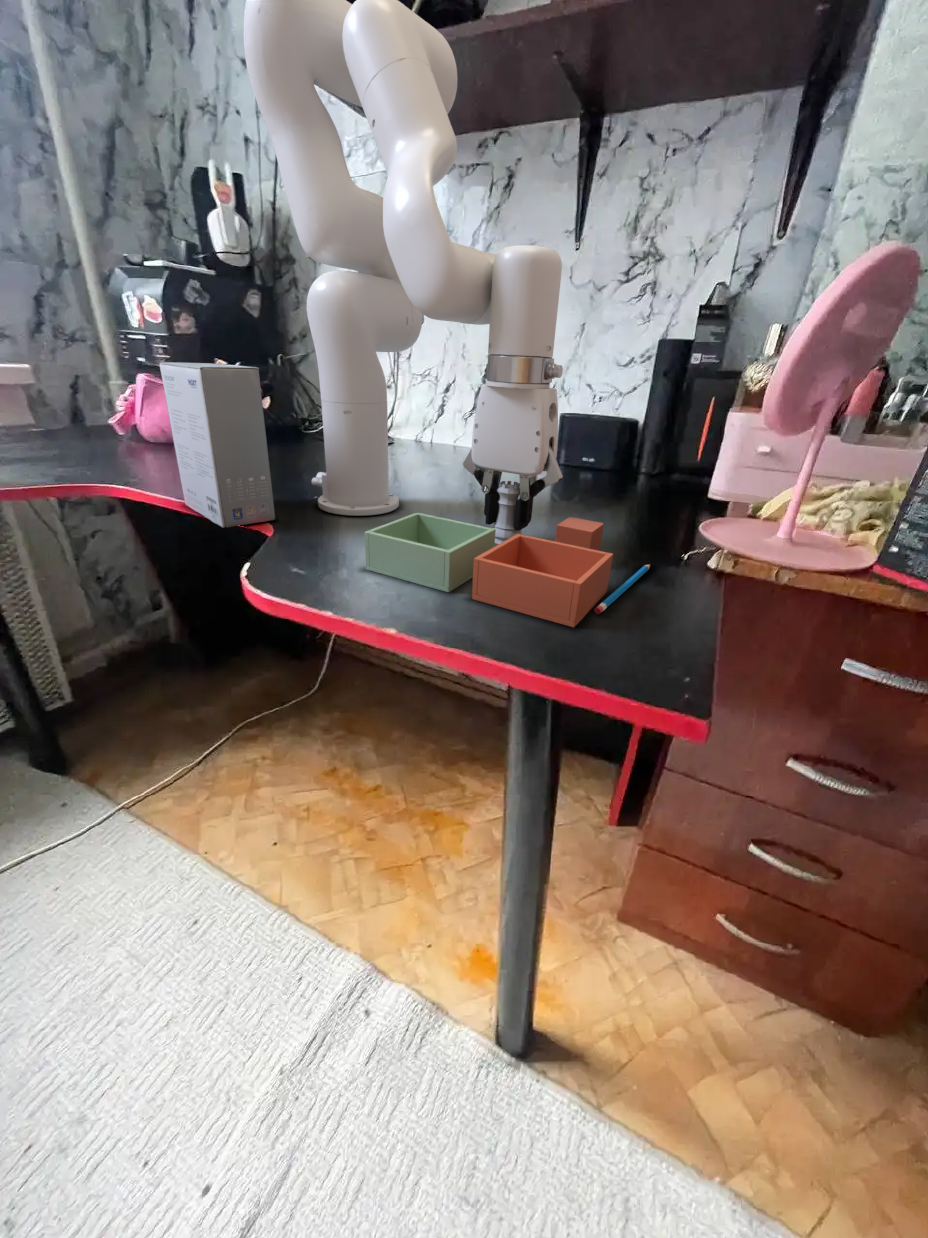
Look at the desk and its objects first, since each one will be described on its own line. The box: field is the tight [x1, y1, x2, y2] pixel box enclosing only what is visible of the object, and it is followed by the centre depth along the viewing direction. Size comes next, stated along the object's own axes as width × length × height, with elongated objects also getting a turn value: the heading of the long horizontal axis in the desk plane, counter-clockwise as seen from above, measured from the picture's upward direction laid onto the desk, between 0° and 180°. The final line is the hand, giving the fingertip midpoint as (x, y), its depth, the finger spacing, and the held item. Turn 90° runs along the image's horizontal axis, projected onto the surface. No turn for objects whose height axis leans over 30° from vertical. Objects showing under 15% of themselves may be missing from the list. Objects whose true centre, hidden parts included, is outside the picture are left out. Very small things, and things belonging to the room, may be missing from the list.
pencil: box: [593, 564, 651, 615], centre depth 61 cm, size 1×17×1 cm, turn 145°
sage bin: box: [364, 512, 496, 593], centre depth 63 cm, size 11×10×4 cm
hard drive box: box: [158, 361, 276, 529], centre depth 76 cm, size 16×8×20 cm, turn 43°
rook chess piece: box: [491, 480, 523, 546], centre depth 72 cm, size 4×4×8 cm
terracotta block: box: [554, 516, 605, 551], centre depth 68 cm, size 4×4×4 cm
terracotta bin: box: [471, 533, 614, 628], centre depth 57 cm, size 11×10×4 cm
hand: (506, 523), depth 72 cm, fingers closed on rook chess piece, 3 cm apart
